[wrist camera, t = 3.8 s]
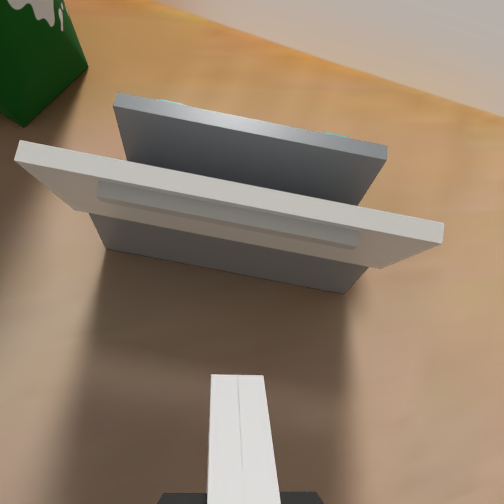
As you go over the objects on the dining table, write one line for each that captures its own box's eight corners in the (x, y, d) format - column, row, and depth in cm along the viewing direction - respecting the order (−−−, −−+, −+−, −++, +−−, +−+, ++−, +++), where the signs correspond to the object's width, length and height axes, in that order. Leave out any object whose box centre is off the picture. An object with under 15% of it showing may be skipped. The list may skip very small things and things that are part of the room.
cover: (78, 195, 24) (71, 221, 24) (19, 140, 17) (9, 175, 17) (382, 254, 24) (378, 280, 24) (444, 223, 18) (440, 259, 17)
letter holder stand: (105, 248, 31) (80, 195, 24) (135, 154, 34) (120, 85, 27) (344, 294, 31) (380, 254, 25) (353, 197, 34) (387, 139, 28)
